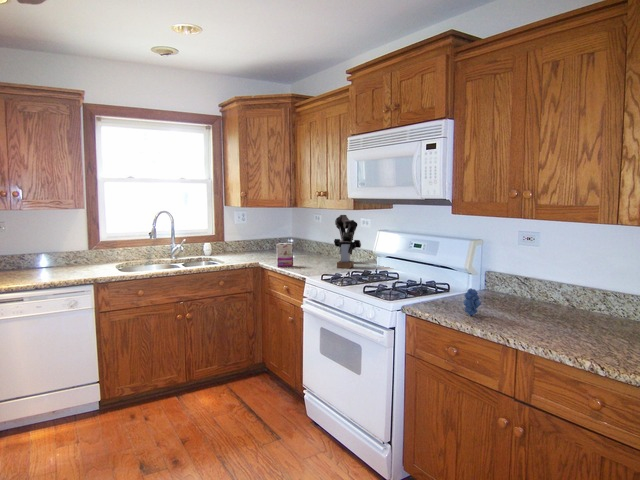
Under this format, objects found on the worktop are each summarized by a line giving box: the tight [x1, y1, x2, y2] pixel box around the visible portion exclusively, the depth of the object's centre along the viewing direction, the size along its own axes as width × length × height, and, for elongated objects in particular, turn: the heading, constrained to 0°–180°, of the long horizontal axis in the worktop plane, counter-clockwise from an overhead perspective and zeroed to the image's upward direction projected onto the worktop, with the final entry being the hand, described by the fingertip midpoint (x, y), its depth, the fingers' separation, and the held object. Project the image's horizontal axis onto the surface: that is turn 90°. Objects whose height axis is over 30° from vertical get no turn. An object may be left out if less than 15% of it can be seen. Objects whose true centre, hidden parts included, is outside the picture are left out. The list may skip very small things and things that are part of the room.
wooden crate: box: [336, 260, 355, 270], centre depth 312 cm, size 9×9×4 cm
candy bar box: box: [276, 242, 294, 268], centre depth 314 cm, size 11×5×16 cm, turn 105°
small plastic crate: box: [340, 244, 351, 262], centre depth 312 cm, size 5×5×12 cm
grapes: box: [462, 288, 482, 316], centre depth 189 cm, size 12×7×12 cm, turn 135°
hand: (344, 252), depth 310 cm, fingers closed on small plastic crate, 5 cm apart
